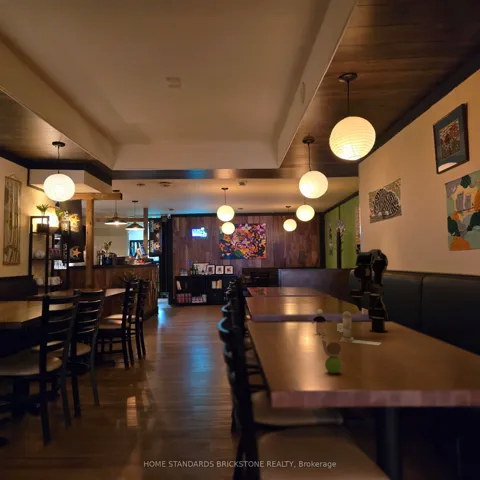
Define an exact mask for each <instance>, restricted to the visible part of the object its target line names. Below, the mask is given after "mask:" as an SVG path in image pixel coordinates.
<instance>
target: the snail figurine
mask: <svg viewBox="0 0 480 480" xmlns="http://www.w3.org/2000/svg"><path fill="white" fill-rule="evenodd" d="M321 339H322V341H321V343H322V346H323V351H324V353H325V354H326V356H328V357H327V358H326V360H325V362H324V367H325V369H326V370H327V372H328V373H330V374H332V375H333V374H334V375H335V374H339V372H341V370H342V367H343V362H342V360H341V359H340V358H339V357H340V355H341V354H342V353H341V350H342V348H341V347H342V346H341V343H339V342H338V341H335V340H334V341H333V340H332V341H329V343H328V344H327V340H326V339H325V336H324V335H321Z"/></svg>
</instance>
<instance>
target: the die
mask: <svg viewBox="0 0 480 480" xmlns="http://www.w3.org/2000/svg"><path fill="white" fill-rule="evenodd" d="M336 331H339V332H338V333H342V332H343V322H342V323H337V324H336Z"/></svg>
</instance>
